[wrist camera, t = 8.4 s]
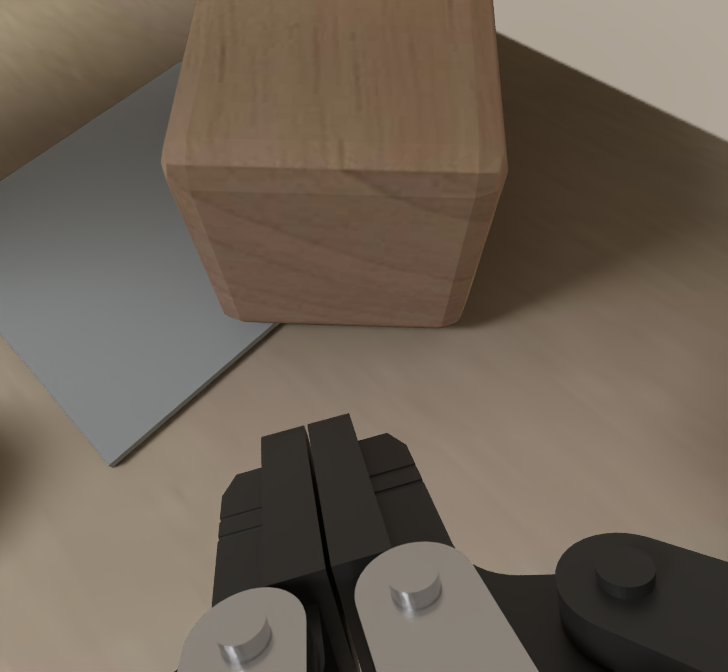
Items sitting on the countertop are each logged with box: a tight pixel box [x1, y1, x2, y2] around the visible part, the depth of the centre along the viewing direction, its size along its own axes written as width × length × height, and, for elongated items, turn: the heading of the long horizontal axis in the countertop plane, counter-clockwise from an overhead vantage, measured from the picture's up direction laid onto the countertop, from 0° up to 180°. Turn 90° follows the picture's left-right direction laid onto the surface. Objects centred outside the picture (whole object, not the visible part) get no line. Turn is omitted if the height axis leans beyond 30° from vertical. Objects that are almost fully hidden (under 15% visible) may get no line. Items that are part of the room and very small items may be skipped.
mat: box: [0, 60, 280, 468], centre depth 28 cm, size 15×16×1 cm
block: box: [161, 0, 508, 328], centre depth 25 cm, size 10×10×20 cm
